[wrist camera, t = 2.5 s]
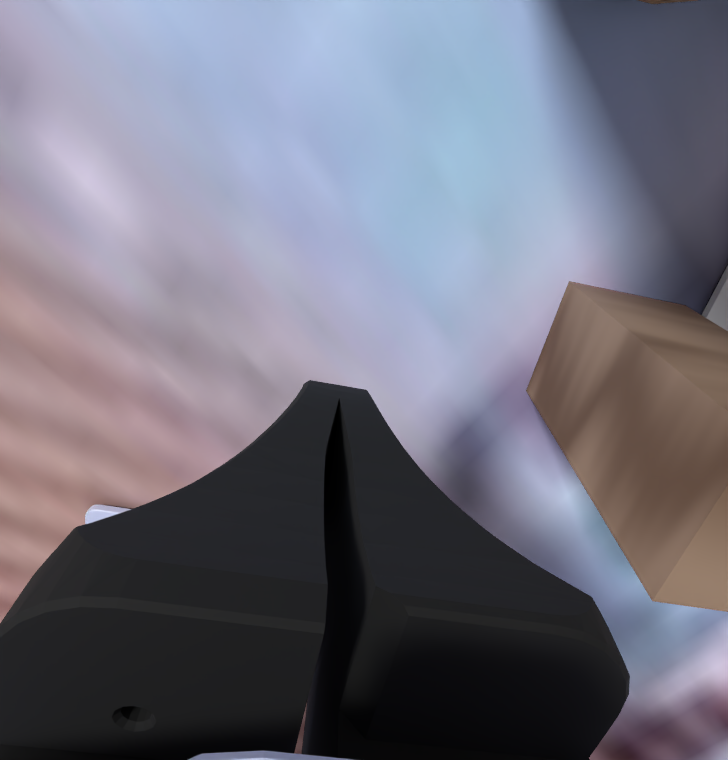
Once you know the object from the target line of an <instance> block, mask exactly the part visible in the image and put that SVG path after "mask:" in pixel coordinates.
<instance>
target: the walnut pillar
mask: <svg viewBox="0 0 728 760" xmlns="http://www.w3.org/2000/svg"><path fill="white" fill-rule="evenodd" d="M526 391H527V393H528V395H529V396H530V398H531V400H532V401H533V403H534V405H535V406H536V408H537V410H538V411H539V413H540V415H541V416H542V418H543V420H544V421H545V423H546V425H547V426H548V428H549V430H550V431H551V433H552V435H553V436H554V438H555V440H556V441H557V443H558V445H559V446H560V448H561V450H562V451H563V453H564V455H565V456H566V458H567V460H568V461H569V463H570V465H571V466H572V468H573V470H574V471H575V473H576V475H577V476H578V478H579V480H580V481H581V483H582V485H583V486H584V488H585V490H586V491H587V493H588V495H589V496H590V498H591V500H592V501H593V503H594V505H595V506H596V508H597V510H598V511H599V513H600V515H601V516H602V518H603V520H604V521H605V523H606V525H607V526H608V528H609V530H610V531H611V533H612V535H613V536H614V538H615V540H616V541H617V543H618V545H619V546H620V548H621V550H622V551H623V553H624V555H625V556H626V558H627V560H628V561H629V563H630V565H631V566H632V568H633V570H634V571H635V573H636V575H637V576H638V578H639V580H640V581H641V583H642V585H643V586H644V588H645V590H646V591H647V593H648V595H649V596H650V598H651V600H652V601H655V602H663V603H670V604H677V605H684V606H691V607H698V608H705V609H712V610H719V611H726V612H728V331H727V330H725V329H723V328H722V327H720V326H718V325H717V324H715V323H713V322H712V321H710V320H708V319H707V318H705V317H704V316H702V315H700V314H699V313H697V312H695V311H694V310H692V309H690V308H689V307H687V306H685V305H681V304H676V303H671V302H667V301H662V300H657V299H652V298H647V297H642V296H638V295H633V294H628V293H623V292H618V291H613V290H609V289H604V288H599V287H594V286H589V285H584V284H580V283H575V282H570V281H569V283H568V286H567V288H566V291H565V293H564V296H563V298H562V301H561V303H560V306H559V308H558V311H557V314H556V316H555V319H554V321H553V324H552V326H551V329H550V331H549V334H548V336H547V339H546V342H545V344H544V347H543V349H542V352H541V354H540V357H539V359H538V362H537V364H536V367H535V370H534V372H533V375H532V377H531V380H530V382H529V385H528V387H527V390H526Z"/></svg>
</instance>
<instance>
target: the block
mask: <svg viewBox="0 0 728 760" xmlns="http://www.w3.org/2000/svg"><path fill="white" fill-rule="evenodd" d="M638 1H642V2H646V3H650V4H661V3H671V2H686V1H696V0H638Z"/></svg>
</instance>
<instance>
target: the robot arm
mask: <svg viewBox="0 0 728 760" xmlns="http://www.w3.org/2000/svg"><path fill="white" fill-rule="evenodd" d="M85 522H86V524H85V525H82V526H78V527H76V528H75V529H73V531H72V532H71V533H70V534H69V535H68V536H67V537H66V539H65V540H64V541H63V542H62V543H61V544H60V545H59V546H58V548H57V549H56V550H55V551H54V552H53V553H52V554H51V555H50V556H49V558H48V559H47V560H46V561H45V562H44V563H43V565H42V566H41V567H40V568H39V569H38V570H37V572H36V573H35V574H34V575H33V577H32V578H31V580H30V581H29V582H28V584H27V585H26V587H25V588H24V589H23V591H22V592H21V594H20V595H19V597H18V598H17V600H16V601H15V603H14V604H13V606H12V607H11V609H10V610H9V612H8V613H7V615H6V616H5V617H4V619H3V620H2V622H1V623H0V760H589V757H590V755H591V754H592V753H593V751H594V750H595V748H596V747H597V745H598V744H599V743H600V741H601V740H602V738H603V737H604V735H605V734H606V733H607V731H608V730H609V728H610V727H611V726H612V724H613V723H614V721H615V720H616V718H617V717H618V715H619V713H620V711H621V709H622V707H623V705H624V703H625V701H626V699H627V697H628V695H629V679H630V676H629V673H628V671H627V668H626V666H625V663H624V661H623V659H622V656H621V654H620V652H619V650H618V648H617V646H616V643H615V641H614V639H613V637H612V635H611V632H610V630H609V628H608V626H607V624H606V622H605V620H604V618H603V617H602V615H601V613H600V611H599V609H598V607H597V605H596V604H595V602H594V600H593V598H592V597H591V596H589V595H587V594H585V593H584V592H582V591H580V590H579V589H577V588H575V587H573V586H572V585H570V584H568V583H566V582H565V581H563V580H561V579H559V578H558V577H556V576H554V575H553V574H551V573H549V572H547V571H546V570H544V569H542V568H540V567H539V566H537V565H535V564H534V563H532V562H531V561H529V560H528V559H526V558H525V557H523V556H522V555H520V554H519V553H517V552H516V551H515V550H513V549H512V548H510V547H509V546H507V545H506V544H504V543H503V542H501V541H500V540H499V539H497V538H496V537H495V536H493V535H492V534H491V533H489V532H488V531H487V530H485V529H484V528H483V527H482V526H480V525H479V524H478V523H477V522H476V521H474V520H473V519H472V518H471V517H470V516H468V515H467V514H466V513H465V512H463V511H462V510H461V509H460V508H459V507H458V506H457V505H456V504H454V503H453V502H452V501H451V500H450V499H449V498H448V497H447V496H446V495H445V494H444V493H443V492H442V491H441V490H440V489H439V488H438V487H437V486H436V485H435V484H434V483H433V482H432V481H431V480H430V479H429V478H428V477H427V476H426V475H425V473H424V472H423V471H422V470H421V469H420V468H419V467H418V465H417V464H416V463H415V462H414V460H413V459H412V458H411V457H410V455H409V454H408V453H407V452H406V450H405V449H404V448H403V446H402V445H401V444H400V442H399V441H398V439H397V438H396V436H395V435H394V433H393V432H392V430H391V429H390V427H389V426H388V424H387V423H386V421H385V419H384V418H383V416H382V415H381V413H380V411H379V410H378V408H377V406H376V404H375V403H374V401H373V399H372V397H371V396H370V394H369V393H368V391H367V390H364V389H358V388H352V387H346V386H340V385H335V384H329V383H323V382H317V381H311V380H310V381H308V382H306V383H305V384H304V385H303V387H302V389H301V391H300V392H299V394H298V395H297V397H296V398H295V399H294V401H293V402H292V403H291V404H290V406H289V407H288V408H287V409H286V410H285V411H284V412H283V413H282V415H281V416H280V417H279V418H278V419H277V420H276V421H275V422H274V423H273V424H272V425H271V426H270V427H269V428H268V429H267V430H266V431H265V432H264V433H262V434H261V435H260V436H259V437H258V438H257V439H256V440H255V441H254V442H253V443H251V444H250V445H249V446H248V447H246V448H245V449H244V450H243V451H241V452H240V453H239V454H237V455H236V456H235V457H233V458H232V459H230V460H229V461H228V462H226V463H225V464H223V465H222V466H220V467H219V468H217V469H215V470H214V471H212V472H210V473H209V474H207V475H206V476H204V477H202V478H201V479H199V480H197V481H195V482H194V483H192V484H190V485H188V486H186V487H184V488H181V489H179V490H177V491H175V492H173V493H171V494H169V495H166V496H164V497H162V498H159V499H157V500H154V501H152V502H150V503H147V504H145V505H142V506H139V507H137V508H134V509H127V508H120V507H113V506H106V505H93V506H91V507H90V508H89V510H88V511H87V513H86V516H85ZM307 699H308V701H307ZM306 703H307V710H306V719H305V728H304V737H303V746H302V754H294V751H295V747H296V743H297V739H298V735H299V731H300V727H301V723H302V719H303V715H304V711H305V707H306Z"/></svg>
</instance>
